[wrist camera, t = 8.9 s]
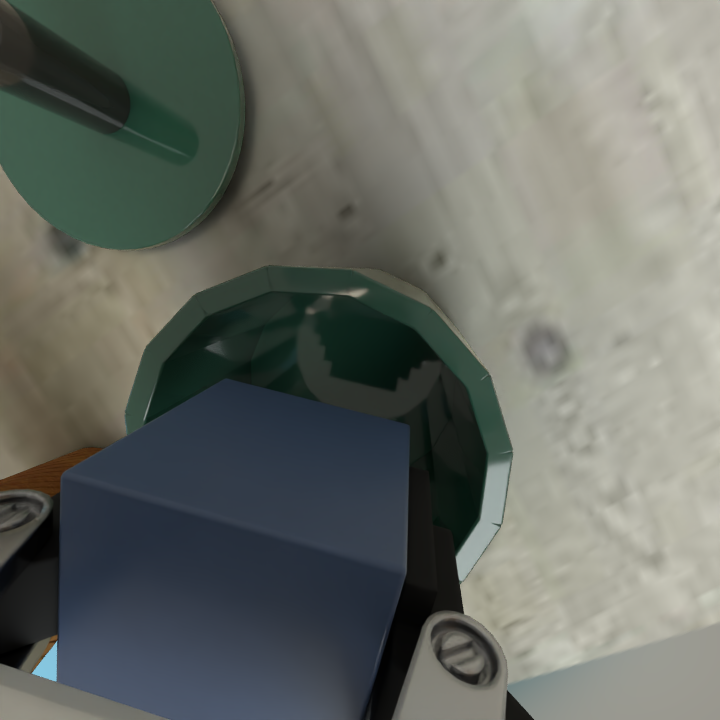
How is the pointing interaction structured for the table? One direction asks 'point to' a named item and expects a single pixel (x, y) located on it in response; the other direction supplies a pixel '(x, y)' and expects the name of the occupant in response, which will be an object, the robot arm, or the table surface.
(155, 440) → the block
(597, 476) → the table surface
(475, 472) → the crock
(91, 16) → the crock lid
